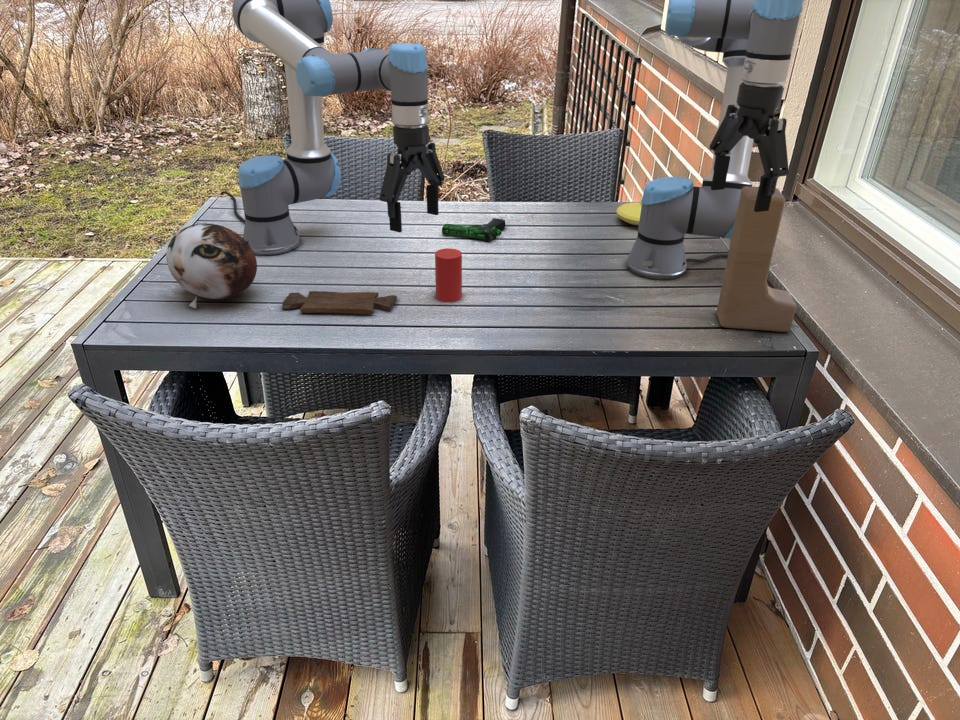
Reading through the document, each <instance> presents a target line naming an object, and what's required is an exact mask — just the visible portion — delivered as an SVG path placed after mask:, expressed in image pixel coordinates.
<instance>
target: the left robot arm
mask: <svg viewBox="0 0 960 720" xmlns="http://www.w3.org/2000/svg"><path fill="white" fill-rule="evenodd" d="M231 11H232V18H233V22H234V24H235V26H236V28H237V29H238V31H239V32H240V33H241V34H242V35H243V36H244V37H245V38H247V39H248V40H249V41H251V42H253V43H256V44H261V45H262V46H263V47H265V48H266V49H267V50H269V52H271V53H272V54H273V55H275V56H276V57H277V58H278V59H279V60H281V61H282V62H283V63H284V71H285V72H284V73H285V84H286V92H287V93H286V94H287V95H286V96H287V108H288V117H289V119H288V120H289V128H290V129H289V130H290V131H289V132H290V139H291V142H290V145H289V146H288V147H287V149H286V159H283V158H282V157H281V156H279V155H275V154H268V155H260V156H259V155H258V156H256V157H252V158H250V159H247V160H245V161H244V162H243V163H241V165H239V167H238V170H237V174H238V186H239V190H240V196H241V201H242V208H243V212H244V213H243V215H244V218H243V217H242V216H241V215H240V214H239V213H238V209H237V208H238V207H237V199H236V197H235V196H234V195H232V194H231V193H230V192H228V191H225V190H222V191H221V192H220V193H219V195H220V196H223V195H224V194H225V195H227V196H228V197H229V198H231V199H232V198H233V199H232V201H233V202H232V203H233V212H234V215H235V216H236V218H237V219H238V220H240V221H241V222H242V223H244V226H243V228H244V229H243V235H242V237H243V238H244V239H245V240H246V241H249V242H248V244H249V245H250V247H251V248H252V250H253V252H254V254H255V256H256V255H257V256H275V255H281V254H282V255H283V254H285V253H289V252H291V251H293V250H296V249H297V248H298V247H299V246H300V244H301V241H300V235H299V233H298V232H299V231H298V228H297V226H296V225H294V223H293V220H292V218H291V216H290V207H289V206H291V205H294V204H295V205H296V204H301V203H304V202H311V201H315V200H323V199H324V198H327V197H331V196H333V195H334V194H335V193H336V192H337V191H338V189H339V187H340V185H341V179H342V178H341V175H342V174H341V167H340V166H339V161H338V158H337V156H336V155H334V153H332V151H331V148H330V147H329V146H328V145H326V143H325V130H324V112H323V99H322V98H323V97H328V96H333V95H340V94H347V93H349V94H350V93H354V92H355V93H356V92H357V93H358V92H364V91H365V92H366V91H373V90H374V91H375V90H386V91H390V96H391V121H392V123H393V125H394V126H393V127H392V137H393V143H394V144H395V145H396V147H397V152H396V153H390V152H389V153H387V156H386V168H385V172H384V173H385V174H384V177H383V181H382V185H381V190H380V193H379V201H380V202H385V203H386V204H387V206H386V207H387V216H388V223H389V231H392V232H395V233H399V234H400V233H402V232H403V228H402V227H403V226H402V225H403V224H402V208H401V206H402V205H401V202H400V201H399V199H400V197H401V194H402V192H403V190H404V186H405V184H406V181H407V178H408V176H410V175H411V174H412V172H415V170H417V169H418V170H419V171H420V173H421V174H422V175H423V177H424V178H425V180H426V182H427V183H428V184H427V185H426V186H425V187H426V192H425V193H426V214H428V215H433V216H439V213H440V212H439V195H440V194H439V193H440V192H439V191H440V189H439V188H440V187H442V186H443V185H444V181H445V175H444V171H443V169H442V166H441V163H440V160H439V157H438V153H437V148H436V143H435V142H431V141H430V126H429V125H428V123H429V102H428V101H429V88H428V87H429V86H428V85H429V83H428V82H429V81H428V80H429V79H428V68H429V66H428V60H427V50H426V47H425V46H424V45H423V44H420V43H413V42H412V43H411V42H402V43H401V42H399V43H393V44H391V45H390V46H389V47H388V50H385V49H382V48H379V47H377V48H366V49H363V50H362V51H356V52H344V53H332V52H330V51H329V50H328V49H326V48H325V47H324V46H323V45H324V44H325V34H327V33H328V32H330V31H331V29H332V26H333V23H334V15H333V8H332V5H331V1H330V0H233V2H232V10H231Z"/></svg>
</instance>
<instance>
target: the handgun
mask: <svg viewBox="0 0 960 720" xmlns="http://www.w3.org/2000/svg"><path fill="white" fill-rule="evenodd" d="M505 228H506V220H505V219H503V218H497V217H492V219H491V220H490V221H489V222H488V223H483V224H482V225H479V224H472V225H459V224H453V223H445V224H443V226H442V227H441V235H446V236H454V237H462V238H469V239H470V238H471V239H474V240H479V241H484V242H491V241H492V240H494V239H495V238H497V237H500V236H502V230H504V229H505Z"/></svg>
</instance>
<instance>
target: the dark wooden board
mask: <svg viewBox="0 0 960 720" xmlns="http://www.w3.org/2000/svg"><path fill="white" fill-rule="evenodd" d="M379 294H380V293H379V292H375V291H357V292H356V291H354V292H353V291H352V292H351V291H349V292H348V291H347V292H342V291H341V292H340V291H325V290H324V291H323V290H322V291H321V290H320V291H318V290H309V291H308V295H307V296H305V295H303V294H301V293H300V292H289V293H288V295H287V296H286V298H285V299H284V300H283V302H282V305H281V306H282V307H281V309H283V310H293V309H294V310H295V309H298V308H300V309H299V310H300V313H302V314H318V313H331V314H334V313H335V314H355V315H369V314H373V313H374V310H375V309H381V310H384V311H391V310H392V309H393V307H394V306H395V304H396V302H397V301H398V296H397V295H395V294H392V295H386V296H379Z"/></svg>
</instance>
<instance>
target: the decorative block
mask: <svg viewBox="0 0 960 720" xmlns="http://www.w3.org/2000/svg"><path fill="white" fill-rule="evenodd" d="M758 189H759V186H752V187H748V186H745V187H743V188H742V189H741V194H740V199H739V204H738V209H737V214H736V219H735V224H734V228H733V233H732V238H730V242H729V249H728V253H727V254H728V257H726V263H725V268H724V273H723V277H722V283H721V287H720V292H719V297H718V302H717V307H716V316H717V318H718V321H719V325H720V327H721V328H727V329H740V330H754V331H767V332H780V333H789V332H791V330H792V325H793V322H794V318H795V315H796V311H797V303H796V301H795V300H794V298H793V296H792V295H791V293H790V292H789V291H788V290H783V289H778V288H774V287H771V286H769V285H768V276H769V272H770V266H771V262H772V259H773V254H774V250H775V247H776V242H777V238H778V234H779V230H780V225H781V221H782V217H783V212H784V208H785V205H786V198H785V196H784V195H783V193H782V192H781V191H780V189H779V188H777V187H776V188H775V193H774V194H773V195H772V198H771V202H770V207H769V211H762V212H755V211H754V208H755V203H756V198H757V194H758Z"/></svg>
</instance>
